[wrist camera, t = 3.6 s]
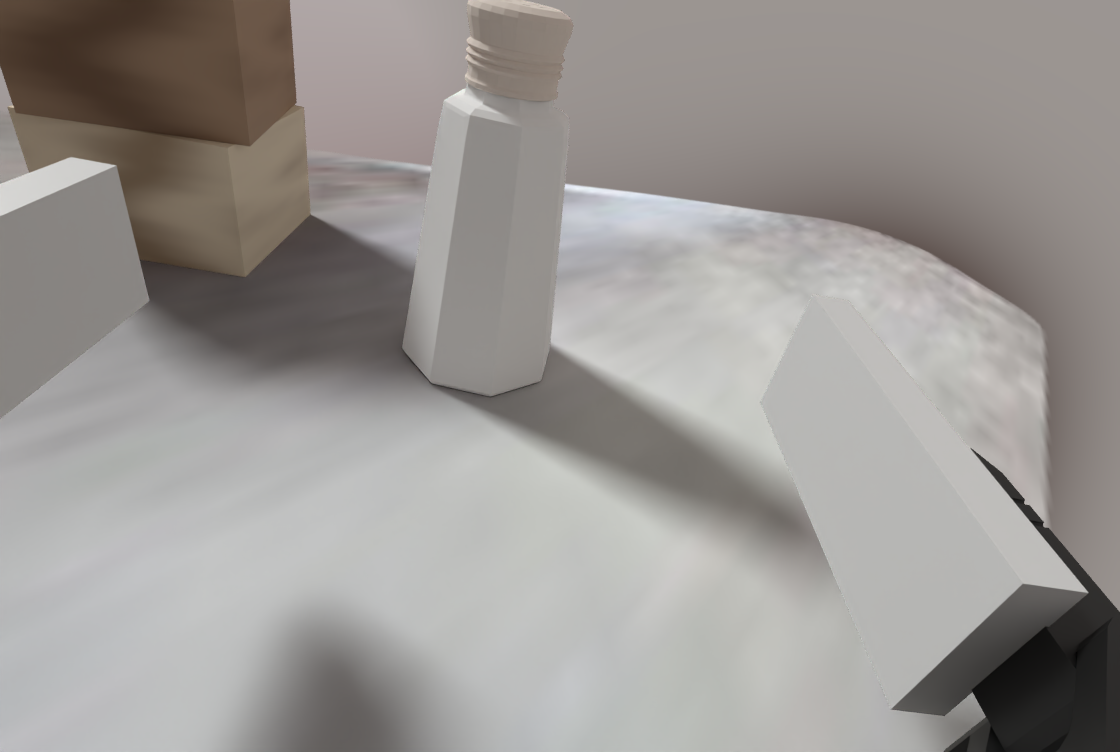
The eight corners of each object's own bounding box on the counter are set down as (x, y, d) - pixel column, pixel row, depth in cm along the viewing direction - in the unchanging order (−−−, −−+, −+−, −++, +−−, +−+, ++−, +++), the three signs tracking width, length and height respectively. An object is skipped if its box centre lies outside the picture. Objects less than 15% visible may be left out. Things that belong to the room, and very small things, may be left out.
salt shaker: (398, 312, 23) (408, -27, 16) (533, 316, 24) (589, 10, 18) (406, 400, 19) (424, -9, 12) (568, 397, 20) (656, 37, 14)
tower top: (15, 112, 19) (-47, -79, 16) (118, 74, 25) (85, -74, 22) (250, 146, 20) (230, -25, 18) (296, 102, 26) (287, -33, 23)
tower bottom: (53, 247, 22) (7, 106, 19) (160, 189, 28) (136, 74, 25) (245, 279, 23) (227, 148, 20) (310, 216, 29) (304, 107, 26)
